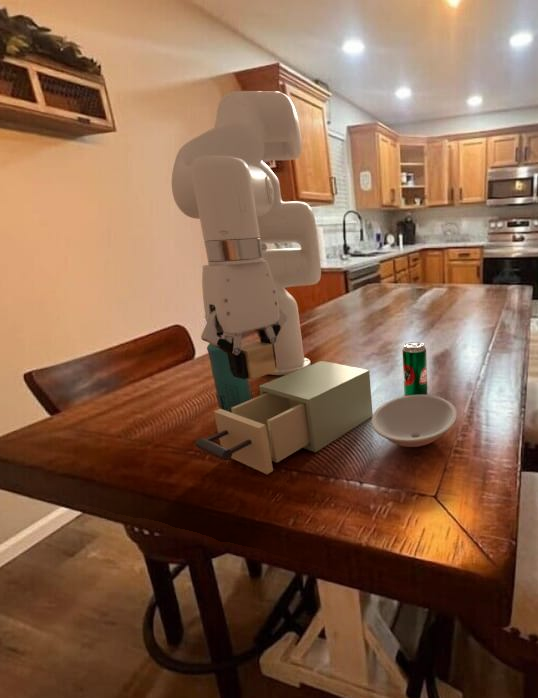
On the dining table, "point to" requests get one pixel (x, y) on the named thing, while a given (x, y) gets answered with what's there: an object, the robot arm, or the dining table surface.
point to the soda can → (414, 369)
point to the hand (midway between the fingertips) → (255, 371)
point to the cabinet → (327, 398)
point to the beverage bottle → (227, 380)
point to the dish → (414, 419)
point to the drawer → (259, 431)
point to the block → (258, 359)
